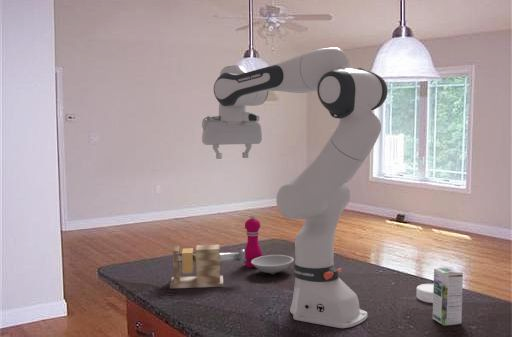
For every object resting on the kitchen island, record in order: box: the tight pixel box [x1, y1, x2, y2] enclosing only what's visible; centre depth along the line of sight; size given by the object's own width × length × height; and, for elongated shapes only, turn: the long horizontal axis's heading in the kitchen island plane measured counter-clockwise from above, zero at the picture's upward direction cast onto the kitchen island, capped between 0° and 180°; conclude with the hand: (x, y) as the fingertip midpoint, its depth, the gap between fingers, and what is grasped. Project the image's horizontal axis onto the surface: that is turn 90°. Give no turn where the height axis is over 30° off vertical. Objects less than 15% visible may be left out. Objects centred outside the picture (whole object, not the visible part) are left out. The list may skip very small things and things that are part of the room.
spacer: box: [181, 247, 195, 274], centre depth 186 cm, size 4×7×7 cm, turn 4°
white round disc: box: [415, 283, 434, 304], centre depth 168 cm, size 10×10×4 cm
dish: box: [251, 254, 295, 275], centre depth 198 cm, size 18×14×5 cm
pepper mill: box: [244, 214, 263, 268], centre depth 209 cm, size 7×7×20 cm
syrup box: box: [432, 266, 464, 327], centre depth 148 cm, size 6×6×14 cm
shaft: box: [172, 248, 246, 264], centre depth 187 cm, size 25×5×5 cm, turn 94°
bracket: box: [169, 244, 224, 289], centre depth 187 cm, size 18×10×13 cm, turn 94°
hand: (232, 158), depth 179 cm, fingers open, 8 cm apart
